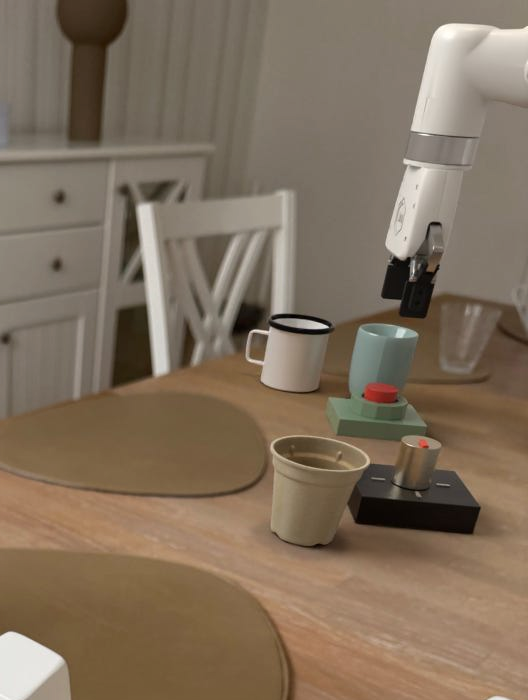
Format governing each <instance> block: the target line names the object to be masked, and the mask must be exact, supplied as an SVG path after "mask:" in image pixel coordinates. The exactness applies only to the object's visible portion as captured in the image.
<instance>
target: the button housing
mask: <svg viewBox="0 0 528 700" xmlns="http://www.w3.org/2000/svg"><path fill="white" fill-rule="evenodd" d="M364 393H365V390H357V391H355V392H353V393H352V394H351V395H350V398H343V397H332V396H328V398H327V403H326V406H325V412H324V413H325V416H326V417H327V420H328V422H329V423H330V425H331V427H332V430H333V432H334V434H335V435H336V436H339V437H342V436H343V437H353V438H363V439H364V438H365V439H375V440H386V441H395V442H396V441H397V442H401V439H402V438H403V437H404V436H409V435H416V436H424V437H426V434H427V431H428V425H427V424H426V423H425V421H424V420H423V418H422V417H421V416H420V414H419V413H418V412H417V410H416V409H415V408H414V406H413V405H412V404H411V403H409V401H408V399H407V398H405V397H404V396H402V395H400V396H399V395H397V398H396V402H395V403H390V404H387V403H377V402H373V401H369V400H367V399H365V398H363V397H364Z"/></svg>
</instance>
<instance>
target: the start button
mask: <svg viewBox="0 0 528 700" xmlns="http://www.w3.org/2000/svg"><path fill="white" fill-rule="evenodd" d="M397 394H398V388H396V387H394V386H392V385H388V384H383V383H369V384H367V385H366V389H365V393H364V397H363V398H365V399H367V400H369V401H373V402H377V403H387V404H390V403H395V402H396V398H397Z"/></svg>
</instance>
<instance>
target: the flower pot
mask: <svg viewBox="0 0 528 700" xmlns="http://www.w3.org/2000/svg"><path fill="white" fill-rule="evenodd" d="M269 449H270V450H269V451H270V453H271V454H272V466H273V471H274V472H273V485H272V486H273V487H272V504H271V518H270V531H271V532H272V533H275V534H276V535H277V536H278V538H279V539H280V540H282V541H284V542H287V543H291V544H295V545H298V546H304V547H313V546H315V545H318V544H321V545H322V546H325V545H328V544H329V543H331V542H332V541H333V539H334V538H335V535H336V532H337V529H338V527H339V524H340V522H341V520H342V517H343V515H344V512H345V510H346V508H347V506H348V504H347V503H348V500H349V498H350V496H351V493H352V491H353V489H354V486H355V484H356V482H357V481H358V480H359V479H360V478H361V476H362V473H363V471H364V470H365V469H367V468H368V467H369V465H370V463H371V458H370V456H369V454H367V453H366V452H365V451H364V450H362V449H361V448H358V447H356V446H354V445H353V444H350V443H348V442H344V441H341V440H337V439H333V438H329V437H323V436H314V435H300V434H299V435H297V434H296V435H287V436H283V437H282V436H281V437H278V438H276V439H273V441H272V442H271V443H270V447H269Z"/></svg>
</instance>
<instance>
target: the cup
mask: <svg viewBox="0 0 528 700" xmlns="http://www.w3.org/2000/svg"><path fill="white" fill-rule="evenodd" d="M355 336H356V338H355V341H354V346H353V350H352V354H351V360H350V364H349V365H350V366H349V372H348V392H349V395H350V396H351V394H352V393H353V392H355V391H357V390H365V389H366V385H367V384H369V383H383V384H388V385H392V386H394V387H396V388H398V394H397V395H399V396H402V394H403V392H404V389H405V387H406V385H407V382H408V379H409V376H410V373H411V370H412V369H411V368H412V366H413V362H414V359H415V355H416V351H417V347H418V343H419V338H420V337H419V333H418V332H416V331H415V330H413V329H410V328H408V327H404V326H400V325H395V324H388V323H365V324H361V325H360V326H359V327H358V329H357V332H356V335H355Z"/></svg>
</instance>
